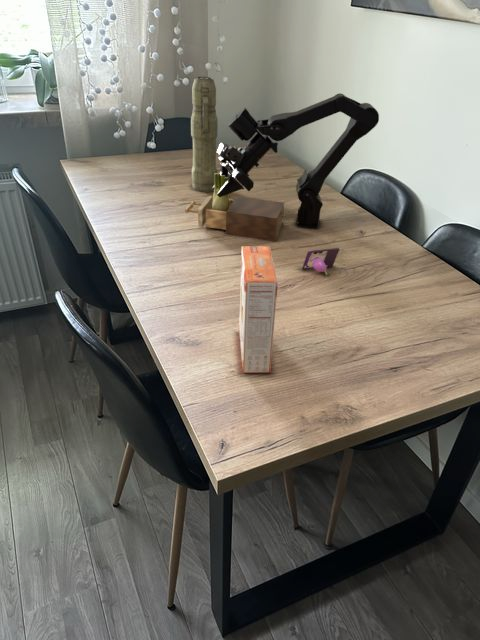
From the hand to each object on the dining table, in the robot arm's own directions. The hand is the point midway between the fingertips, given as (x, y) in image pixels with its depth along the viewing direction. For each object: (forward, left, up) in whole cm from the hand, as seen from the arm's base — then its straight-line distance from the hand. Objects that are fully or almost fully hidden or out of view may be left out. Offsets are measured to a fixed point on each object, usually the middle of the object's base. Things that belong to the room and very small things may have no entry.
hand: (215, 192), depth 150 cm
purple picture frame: (-35, +21, -10) cm, 42 cm away
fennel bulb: (-1, -1, -7) cm, 7 cm away
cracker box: (-25, +61, -10) cm, 66 cm away
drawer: (-1, -1, -9) cm, 9 cm away
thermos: (+12, -30, -10) cm, 34 cm away
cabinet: (-12, -1, -10) cm, 16 cm away
